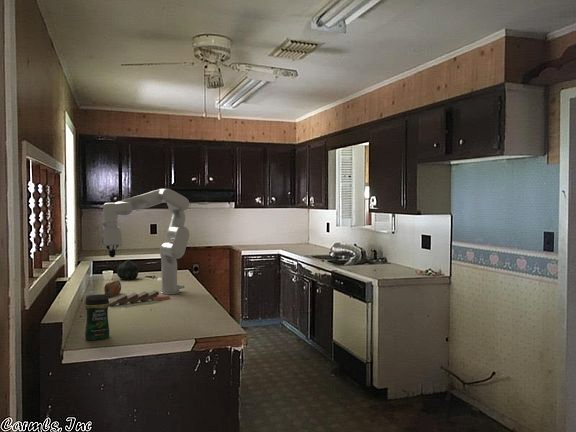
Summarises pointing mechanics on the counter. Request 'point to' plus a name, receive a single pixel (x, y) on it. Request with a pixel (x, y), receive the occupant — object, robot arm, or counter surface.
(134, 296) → the domino
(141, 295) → the domino
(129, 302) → the mat
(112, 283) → the tin
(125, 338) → the counter surface
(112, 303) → the domino
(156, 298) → the domino
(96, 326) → the coffee jar
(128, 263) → the squash
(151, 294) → the domino
